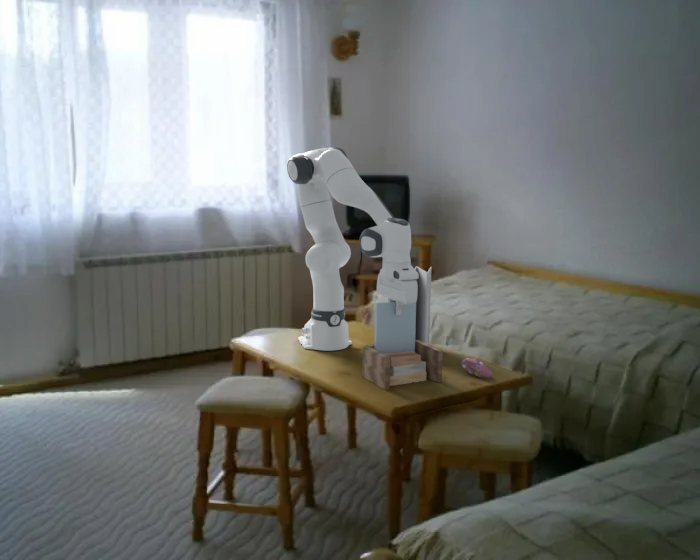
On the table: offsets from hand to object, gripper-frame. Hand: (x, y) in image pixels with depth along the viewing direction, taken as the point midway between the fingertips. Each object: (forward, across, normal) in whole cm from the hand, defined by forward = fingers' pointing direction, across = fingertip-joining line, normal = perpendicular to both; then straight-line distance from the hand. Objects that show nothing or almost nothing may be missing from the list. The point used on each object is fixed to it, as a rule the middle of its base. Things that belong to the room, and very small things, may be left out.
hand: (395, 313), depth 231 cm
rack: (+20, +4, 0) cm, 20 cm away
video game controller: (+20, +11, +24) cm, 33 cm away
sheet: (+20, 0, 0) cm, 20 cm away
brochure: (+20, -21, +22) cm, 37 cm away
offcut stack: (+20, +6, 0) cm, 21 cm away
